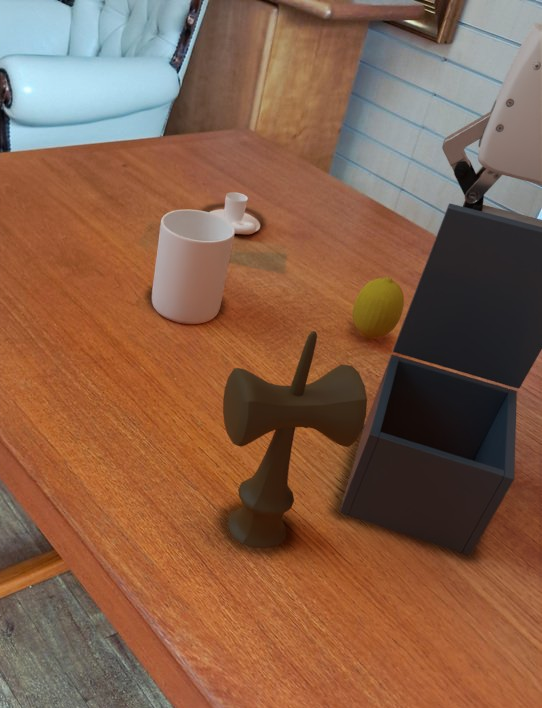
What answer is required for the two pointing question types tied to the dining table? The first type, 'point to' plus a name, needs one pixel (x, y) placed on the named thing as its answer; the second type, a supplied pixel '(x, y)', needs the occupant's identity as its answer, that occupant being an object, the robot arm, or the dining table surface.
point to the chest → (434, 455)
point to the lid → (479, 296)
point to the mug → (191, 265)
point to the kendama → (285, 435)
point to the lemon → (378, 307)
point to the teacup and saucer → (238, 214)
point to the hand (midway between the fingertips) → (500, 254)
